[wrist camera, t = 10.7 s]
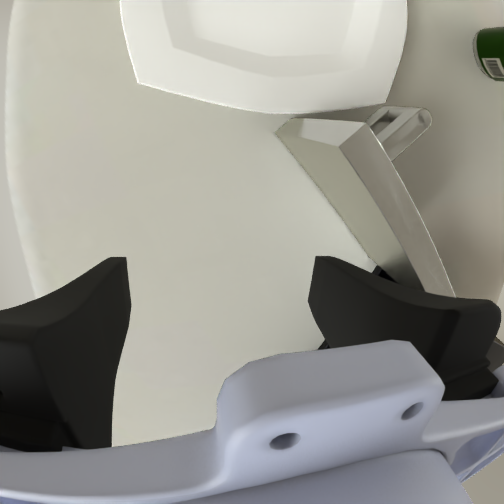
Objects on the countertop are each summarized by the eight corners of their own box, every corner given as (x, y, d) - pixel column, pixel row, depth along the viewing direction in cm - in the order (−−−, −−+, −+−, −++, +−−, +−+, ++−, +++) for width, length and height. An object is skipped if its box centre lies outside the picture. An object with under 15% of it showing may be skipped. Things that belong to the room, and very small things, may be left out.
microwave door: (345, 75, 19) (440, 62, 10) (423, 205, 24) (508, 250, 15) (273, 132, 20) (337, 146, 11) (368, 257, 25) (441, 324, 16)
